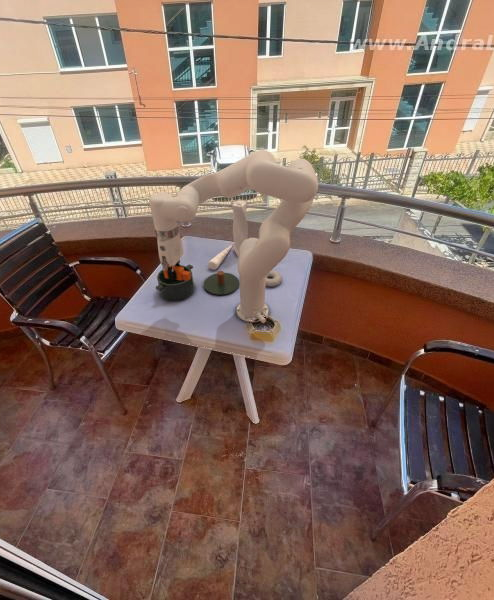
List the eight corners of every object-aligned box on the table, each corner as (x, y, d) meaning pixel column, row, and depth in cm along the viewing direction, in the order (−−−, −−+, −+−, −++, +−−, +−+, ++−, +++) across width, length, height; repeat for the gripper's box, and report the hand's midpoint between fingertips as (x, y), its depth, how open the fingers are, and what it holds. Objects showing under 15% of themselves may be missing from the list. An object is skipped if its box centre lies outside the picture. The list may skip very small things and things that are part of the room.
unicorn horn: (239, 247, 165) (238, 238, 162) (216, 271, 149) (215, 263, 146) (230, 245, 167) (230, 237, 164) (207, 269, 151) (207, 260, 148)
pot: (205, 284, 142) (203, 269, 137) (172, 309, 131) (169, 293, 125) (181, 274, 149) (179, 258, 144) (149, 296, 138) (145, 280, 133)
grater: (234, 257, 157) (232, 203, 139) (231, 250, 163) (228, 196, 145) (250, 254, 159) (250, 200, 141) (245, 247, 164) (245, 194, 146)
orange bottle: (191, 276, 118) (190, 268, 116) (188, 281, 116) (187, 273, 113) (166, 272, 121) (164, 264, 118) (162, 277, 118) (160, 269, 116)
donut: (280, 289, 137) (282, 275, 144) (281, 283, 135) (283, 269, 142) (257, 287, 139) (260, 273, 146) (257, 281, 137) (260, 267, 144)
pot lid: (246, 282, 142) (245, 269, 138) (224, 300, 133) (223, 288, 129) (219, 270, 150) (218, 258, 146) (196, 287, 141) (195, 275, 137)
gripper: (166, 244, 100) (175, 290, 111) (186, 221, 111) (192, 265, 123) (145, 242, 101) (155, 287, 113) (167, 219, 113) (174, 262, 125)
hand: (174, 275), depth 118 cm, fingers closed on orange bottle, 3 cm apart
